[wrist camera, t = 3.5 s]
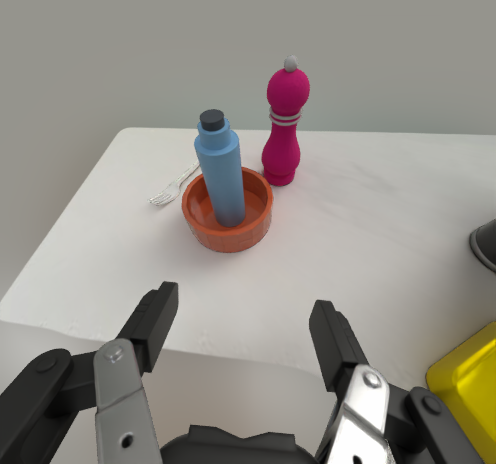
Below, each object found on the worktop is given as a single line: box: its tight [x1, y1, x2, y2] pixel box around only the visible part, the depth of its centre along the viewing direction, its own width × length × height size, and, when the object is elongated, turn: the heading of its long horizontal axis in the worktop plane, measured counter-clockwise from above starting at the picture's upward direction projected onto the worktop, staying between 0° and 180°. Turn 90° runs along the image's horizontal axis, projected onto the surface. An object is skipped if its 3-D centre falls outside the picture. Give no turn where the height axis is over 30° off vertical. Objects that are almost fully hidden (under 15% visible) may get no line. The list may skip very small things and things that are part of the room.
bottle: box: [194, 109, 245, 227], centre depth 30 cm, size 5×5×18 cm
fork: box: [147, 160, 200, 205], centre depth 44 cm, size 3×20×2 cm, turn 150°
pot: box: [182, 167, 273, 253], centre depth 36 cm, size 15×15×6 cm
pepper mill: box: [262, 55, 310, 186], centre depth 35 cm, size 7×7×20 cm
